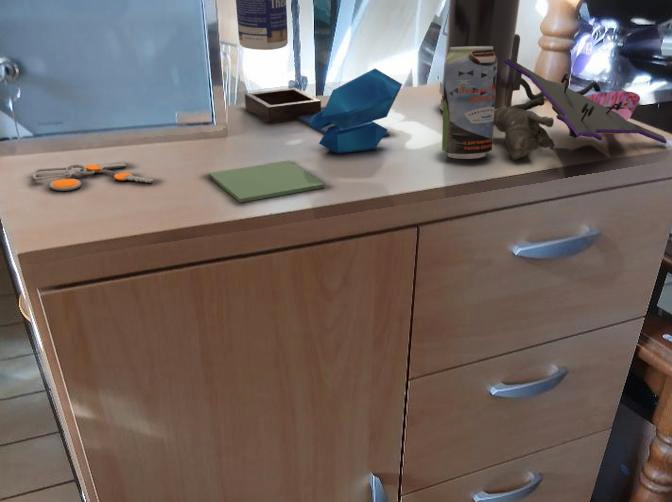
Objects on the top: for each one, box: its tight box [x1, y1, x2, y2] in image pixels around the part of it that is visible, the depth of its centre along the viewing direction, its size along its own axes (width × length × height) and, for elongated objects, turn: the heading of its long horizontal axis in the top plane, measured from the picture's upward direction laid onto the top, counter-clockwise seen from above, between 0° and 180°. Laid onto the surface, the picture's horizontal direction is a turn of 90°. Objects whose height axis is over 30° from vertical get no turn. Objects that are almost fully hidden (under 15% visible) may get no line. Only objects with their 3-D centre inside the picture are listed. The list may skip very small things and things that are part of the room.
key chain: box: [31, 163, 154, 192], centre depth 82 cm, size 13×7×1 cm, turn 106°
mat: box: [208, 160, 325, 203], centre depth 83 cm, size 10×9×1 cm
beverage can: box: [441, 46, 497, 160], centre depth 87 cm, size 6×7×12 cm
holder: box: [244, 87, 322, 124], centre depth 104 cm, size 8×8×2 cm
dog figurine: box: [493, 96, 555, 161], centre depth 91 cm, size 12×6×7 cm
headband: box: [584, 90, 641, 121], centre depth 100 cm, size 11×4×2 cm
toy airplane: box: [504, 59, 668, 144], centre depth 90 cm, size 23×26×5 cm
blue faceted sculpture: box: [309, 68, 403, 154], centre depth 90 cm, size 7×9×12 cm
